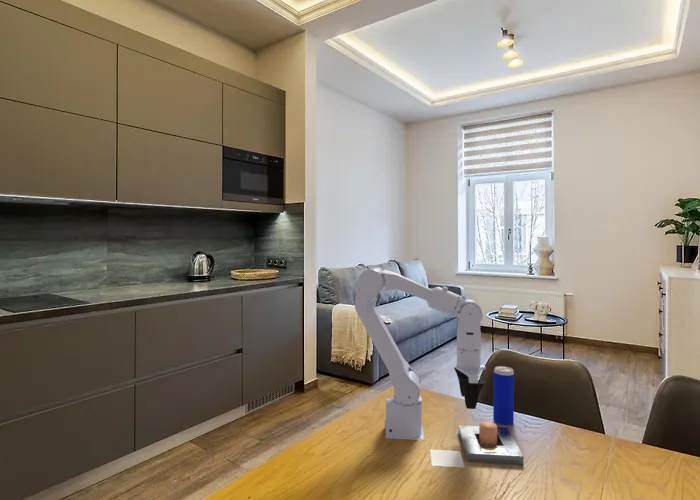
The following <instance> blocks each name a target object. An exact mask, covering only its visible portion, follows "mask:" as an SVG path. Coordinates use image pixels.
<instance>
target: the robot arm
mask: <svg viewBox="0 0 700 500" xmlns="http://www.w3.org/2000/svg"><path fill="white" fill-rule="evenodd" d="M354 287H355V299H354V310H355V312H356V314H357V315H358V318H359V319H360V322H362V325H363V327H364V329H365V330H366V332H367V334H368V336H369V338H370V339H371V341H372V343H373V345H374V346H375V348H376V350H377V352H378V354H379V355H380V358H381V359H382V361H383V363H384V365H385V367H386V369H387V371H388V374H389V378H390V382H391V384H392V387H393V392H394V395H393V397H390V398H386V399H385V420H384V428H385V438H386V439H394V440H395V439H396V440H413V441H414V440H415V441H424V440H425V435H424V428H423V424H422V423H423V421H422V419H423V417H422V416H423V409H422V408H423V398H422V396H421V394H420V393H421V390H420V387H421V386H420V385H421V377H420V375H419V373H418V372H417V371H416V370H415V369H413V368H412V367H411V366H410V363H409V362H408V361H406V359H405V358H404V357H403V355H402V353H401V351H400V349H399V347H398V346H397V344H396V342H395V340H394V339H393V336H392V335H391V333H390V331H389V329H388V327H387V326H386V324H385V322H384V321H383V318H382V317H381V315H380V312H379V311H378V309H377V307H376V303H377V301H378V298H379V294H380V292H381V291H382V290H383V288H384V292H389V291H394V290H397V291H401V292H403V293H405V294H409V295H410V296H411V295H412V296H414V297H416V298H418V299H419V298H420V299H422V300H423V301H424V300H425V301H426V303H427V305H428V308H430V309H432V310H435V311H437V312H439V313H442V314H444V315H446V316H449V317H451V318H458V319H457V329H456V363H455V367H453V370H454V371H455V373H456V376H457V379H458V384H459V390H460V394H461V397H464V403H465V404H464V405H465V408H466V409H469V410H472V409H473V410H476V408H477V404H478V400H479V395H480V393H481V391H482V389H483V387H484V386H485V382H484V380H479V374H480V373H481V371H486V366H485V365H484V364H481V359H482V358H481V352H482V351H481V349H482V347H481V346H482V343H481V342H482V341H481V340H482V337H481V336H482V331H481V322H482V320H483V318H484V314H483V311H482V308H481V306H480V305H479V304H478V303H477V301H475V300H473V298H471V297H467V296H466V295H464V294H462V295H459V294H458V293H454V292H452V291H450V290H448V289H449V288H448V287H447V286H445V285H444V286H442V287H440V286H436V287H433V288H430V287H428V286H426V285H423V284H421V283H419V282H417V281H415V280H412V279H410V278H408V277H406V276H404V275H401V274H399V273H398V272H393V271H391V270H387V269H383V268H381V267H378V266H371V267H369V268H367V269H366V270H364V271H362V272H361V273H360V275H359V276H358V279H357V280H356V283H355V286H354Z"/></svg>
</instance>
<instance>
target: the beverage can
mask: <svg viewBox="0 0 700 500" xmlns="http://www.w3.org/2000/svg"><path fill="white" fill-rule="evenodd" d="M514 371H515V370H514V369H513V368H512V367H509V366H505V365H504V366H503V365H500V366H499V365H498V366H495V367H494V370H493V405H492V407H493V408H492V409H493V414H492V415H493V416H492V417H493V423H494V424H496V425H500V426H504V427H507V426H512V425H513V424H514V418H515V417H514V415H515V414H514V413H515V412H514V411H515V410H514V409H515V407H514V405H515V403H514V401H515V400H514V399H515V372H514Z"/></svg>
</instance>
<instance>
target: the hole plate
mask: <svg viewBox="0 0 700 500" xmlns="http://www.w3.org/2000/svg"><path fill="white" fill-rule="evenodd" d="M458 435H459V439H460V442H461V444H462V448H463V452H464V455H465V458H466V461H467V463H481V464H498V465H499V464H500V465H514V466H524V465H525V463H524V460H525V459H524V455H523V453H522V451H521V449H520V447H519V446H518V443H517V442H516V440H515V439H514V436H512V433H511V431H510V430H509V428H508V427H507V426H497V446H493V445H479V425H465V424H464V425H463V424H462V425H461V424H458Z"/></svg>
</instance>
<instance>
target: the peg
mask: <svg viewBox="0 0 700 500" xmlns="http://www.w3.org/2000/svg"><path fill="white" fill-rule="evenodd" d="M478 426H479V441H478V444H479V445H493V446H498V442H497V427H498V424H497V423H495V422H491V421H480V422H479V425H478Z"/></svg>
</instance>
